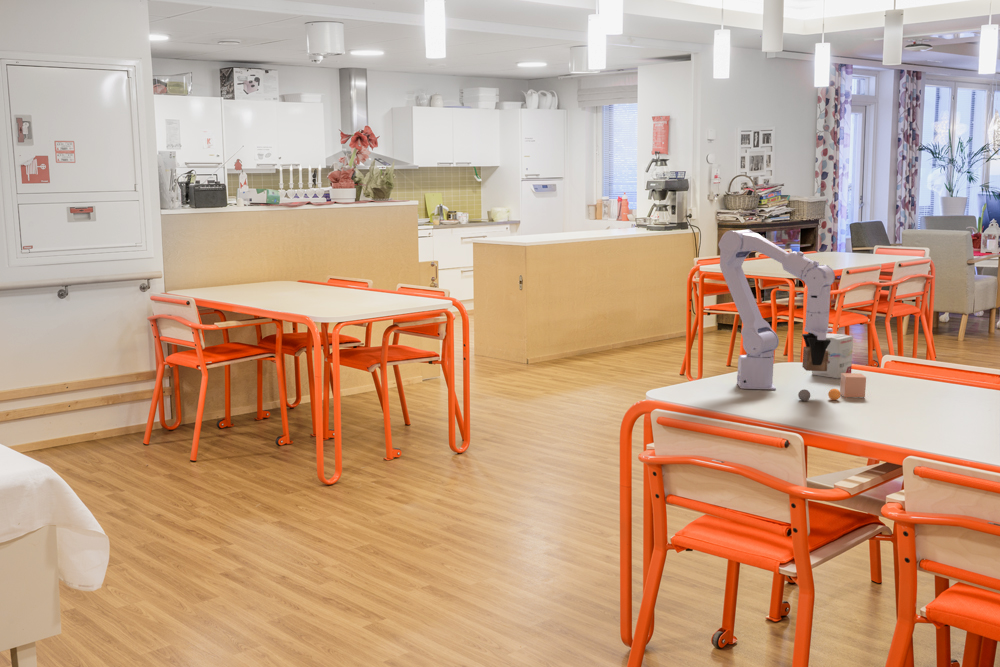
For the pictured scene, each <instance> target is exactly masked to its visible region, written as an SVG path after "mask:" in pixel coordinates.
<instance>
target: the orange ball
mask: <svg viewBox="0 0 1000 667" xmlns="http://www.w3.org/2000/svg"><path fill="white" fill-rule="evenodd" d="M827 395H828V398H829V400H831V401H837V400H839V399H840V398H841V394H840V389H837V388H832V389H829V391H828V393H827Z"/></svg>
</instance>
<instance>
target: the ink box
mask: <svg viewBox="0 0 1000 667" xmlns="http://www.w3.org/2000/svg"><path fill="white" fill-rule="evenodd" d="M826 339H830V340H831V342H830V344H829V345H828V347H827V350H828V362H827V371H811V375H814V376H819V377H826V378H834V379H841V373H852V363H853V362H852V361H853V345H854V344H853V343H854V336H853V335H848V334H841V333H831V332H828V333H827V334H826Z"/></svg>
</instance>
